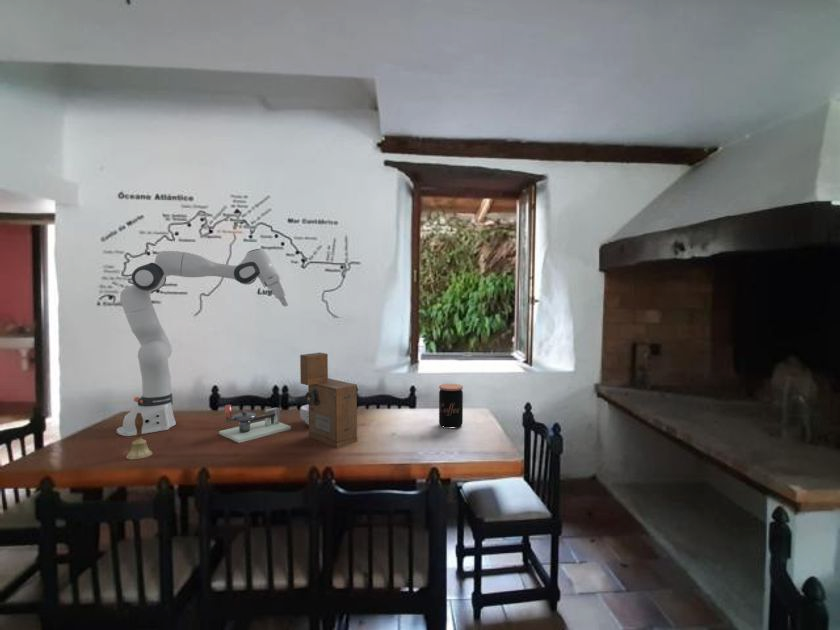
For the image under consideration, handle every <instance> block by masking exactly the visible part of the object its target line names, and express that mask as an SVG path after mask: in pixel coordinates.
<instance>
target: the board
mask: <svg viewBox="0 0 840 630" xmlns="http://www.w3.org/2000/svg"><path fill="white" fill-rule="evenodd" d="M247 412H248V411H247V410H244V411H241V413H242V415H246V414H247ZM269 419H270V426H265V419H263V420H260V421H257V422H256V421H255V422H253V423H252V422H250V431H248V432H239V426H235V427H232V428H227V429H224V430H219V431H218V434H219V435H220V436H222V437H225V438H228V439H230V440H232V441H233V442H236V443H238V444H240V443H244V442H247V441H253V440H255V439H259V438H264V437H266V436H270V435H275V434H278V433H282V432H285V431H286V432H287V431H289V430H292V426H291V425H288V424H286V423H284V422H280V424H276V423H275V420H274V423H273V424H271V418H269Z"/></svg>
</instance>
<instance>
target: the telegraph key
mask: <svg viewBox="0 0 840 630" xmlns="http://www.w3.org/2000/svg"><path fill="white" fill-rule="evenodd" d="M265 418H268V419H271V424H273V423H274V421H275V412H269V413H267V414H262V415H256V413H255V412H250V411H249V412H248V411H247V414H246V415H242V412H238V413H236V414H233V416H232V405H231V404H226V405H224V419H225V422H227V423H229V422H234V421H235V422H238V427H239V432H248V431H250V424H251V423H252V422H256V421H259V420H260V421H262V420H265Z"/></svg>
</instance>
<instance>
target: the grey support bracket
mask: <svg viewBox="0 0 840 630" xmlns="http://www.w3.org/2000/svg"><path fill="white" fill-rule="evenodd" d="M264 413H267V414H270V413H275V416H274V421H275V423H276V424H280V423H281V422H280V421H281V420H280V416H281V415H280V414H281V413H280V407H276V406H275V407H272V408H267V409H264ZM270 419H271V418H265V419H264V420H265V426H270Z"/></svg>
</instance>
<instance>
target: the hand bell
mask: <svg viewBox="0 0 840 630" xmlns="http://www.w3.org/2000/svg"><path fill="white" fill-rule="evenodd" d="M135 426H136V429H137V435H136V438H135V440H133V441H132V443H131V447H130V451H129V452H128V453H127V454H126V459H127V460H132V461H133V460H134V461H135V460H141V459H142V460H143V459H145V458H149V457H151V456H152V455H153V451H152V450H150V449H149V447H148V445H147V440H146V439H143V438H142V437H143V434H142V426H143V417H142V415H141V413H137V415H136V418H135Z"/></svg>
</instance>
